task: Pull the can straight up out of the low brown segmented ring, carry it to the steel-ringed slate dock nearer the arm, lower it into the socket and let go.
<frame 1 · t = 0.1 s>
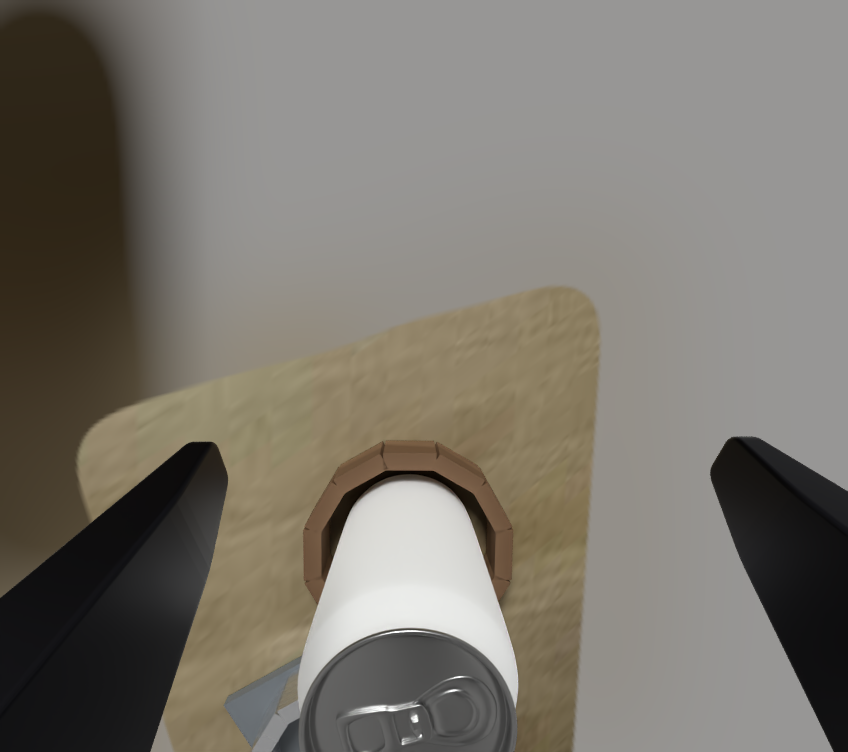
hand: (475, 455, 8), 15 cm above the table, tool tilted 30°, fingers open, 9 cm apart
can: (408, 531, 24), resting in brown segmented ring
brown segmented ring: (408, 532, 24), on the table
dock: (359, 726, 25), on the table
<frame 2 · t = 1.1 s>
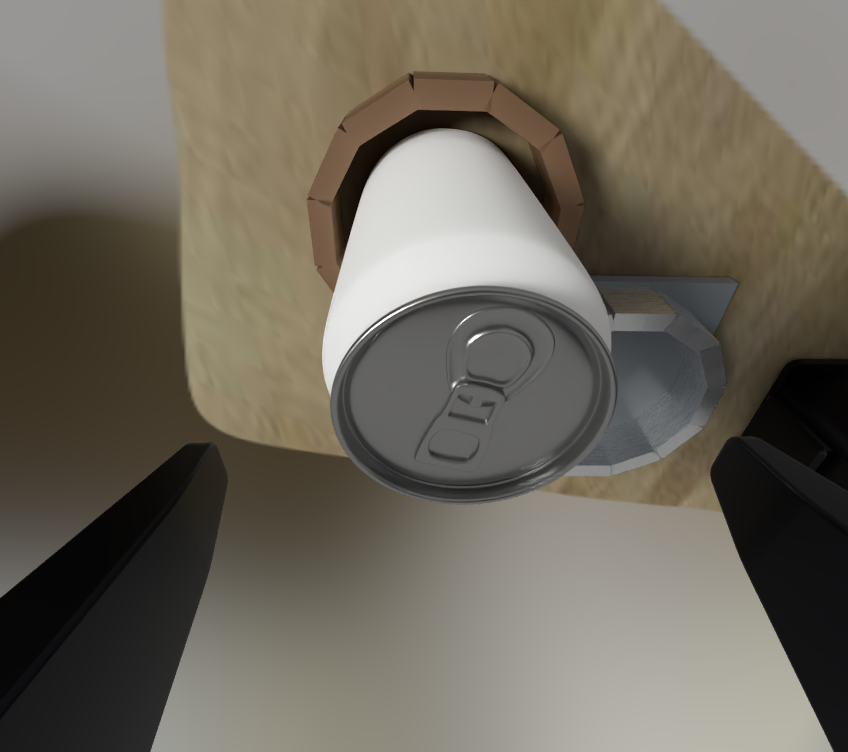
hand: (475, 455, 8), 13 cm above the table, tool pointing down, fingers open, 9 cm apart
can: (441, 212, 19), resting in brown segmented ring
brown segmented ring: (441, 214, 19), on the table
dock: (591, 367, 23), on the table
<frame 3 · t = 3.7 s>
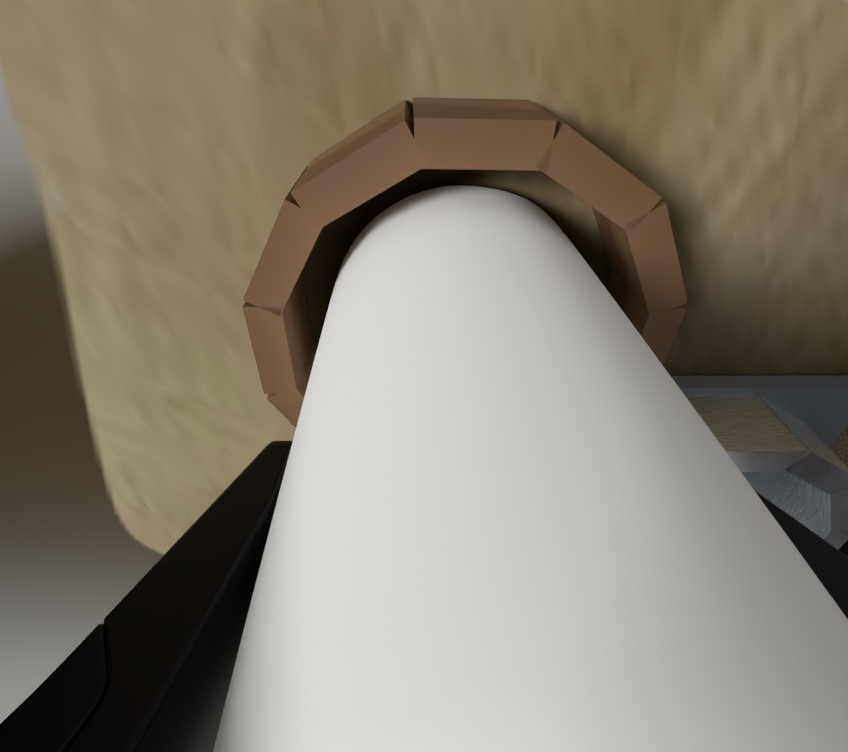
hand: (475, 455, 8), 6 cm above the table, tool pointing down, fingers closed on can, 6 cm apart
can: (455, 299, 13), resting in brown segmented ring, touching gripper
brown segmented ring: (455, 302, 13), on the table
dock: (655, 480, 17), on the table
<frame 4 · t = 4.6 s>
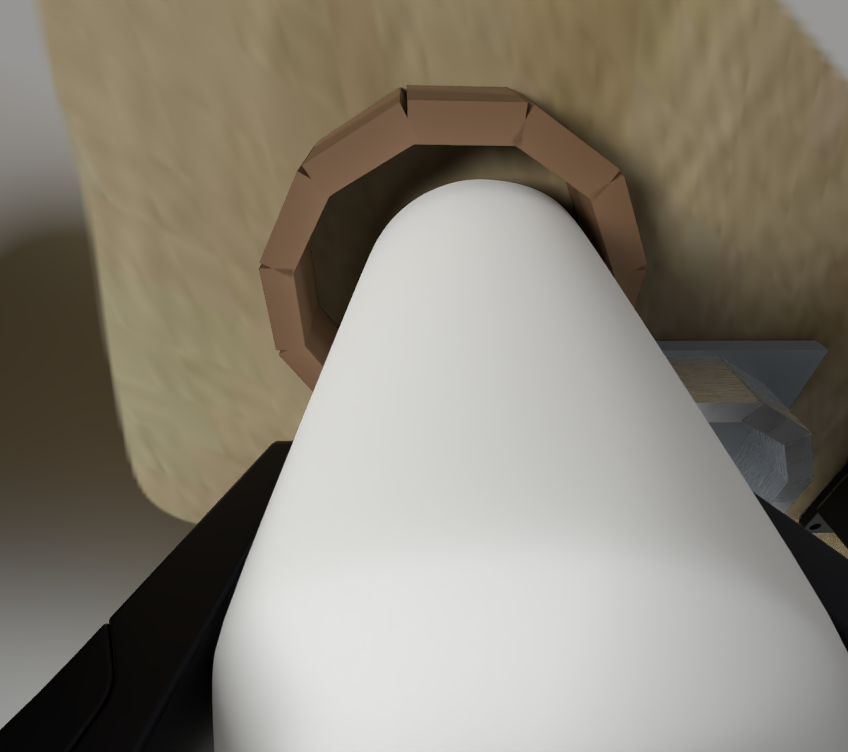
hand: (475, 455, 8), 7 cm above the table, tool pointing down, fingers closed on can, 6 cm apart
can: (476, 288, 14), point 1 cm above the table, touching gripper
brown segmented ring: (446, 271, 14), on the table
dock: (632, 442, 19), on the table
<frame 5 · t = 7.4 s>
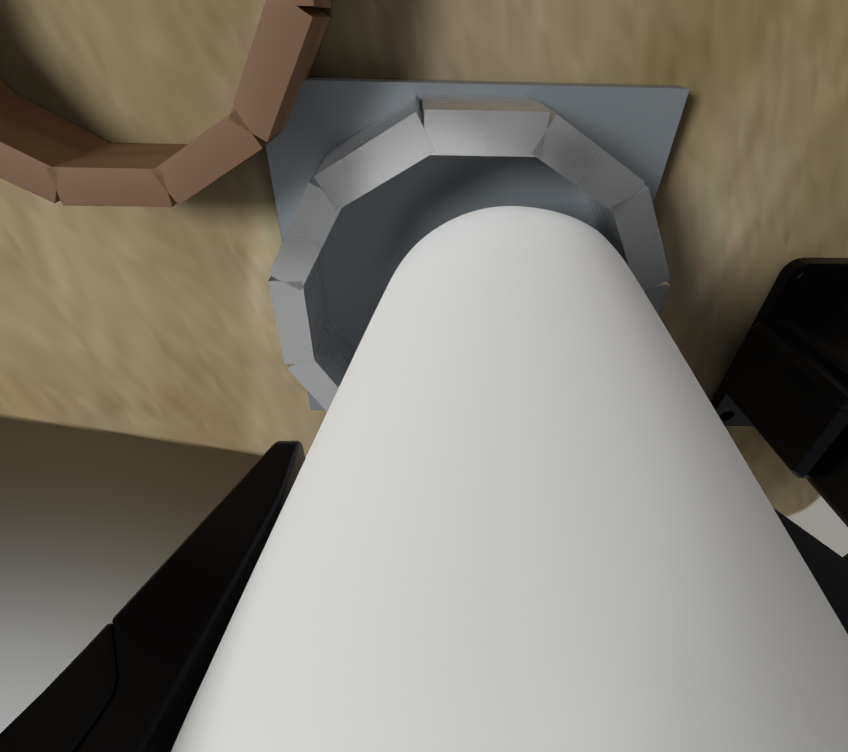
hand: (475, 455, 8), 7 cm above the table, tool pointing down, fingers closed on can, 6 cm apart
can: (505, 321, 12), point 2 cm above the table, touching dock, gripper
dock: (458, 274, 14), on the table
when the fingers open (7 cm above the table, at t = 8.2 s): can stays where it is, resting on dock.
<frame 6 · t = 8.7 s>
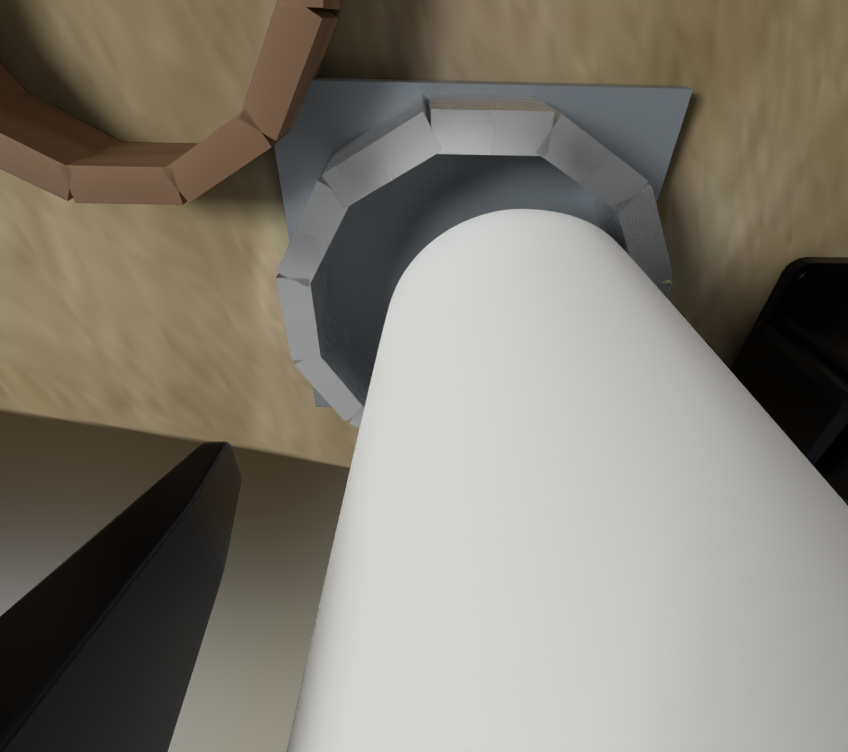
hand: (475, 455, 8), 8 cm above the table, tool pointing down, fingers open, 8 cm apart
can: (509, 324, 12), point 3 cm above the table, touching dock, gripper
dock: (463, 272, 14), on the table
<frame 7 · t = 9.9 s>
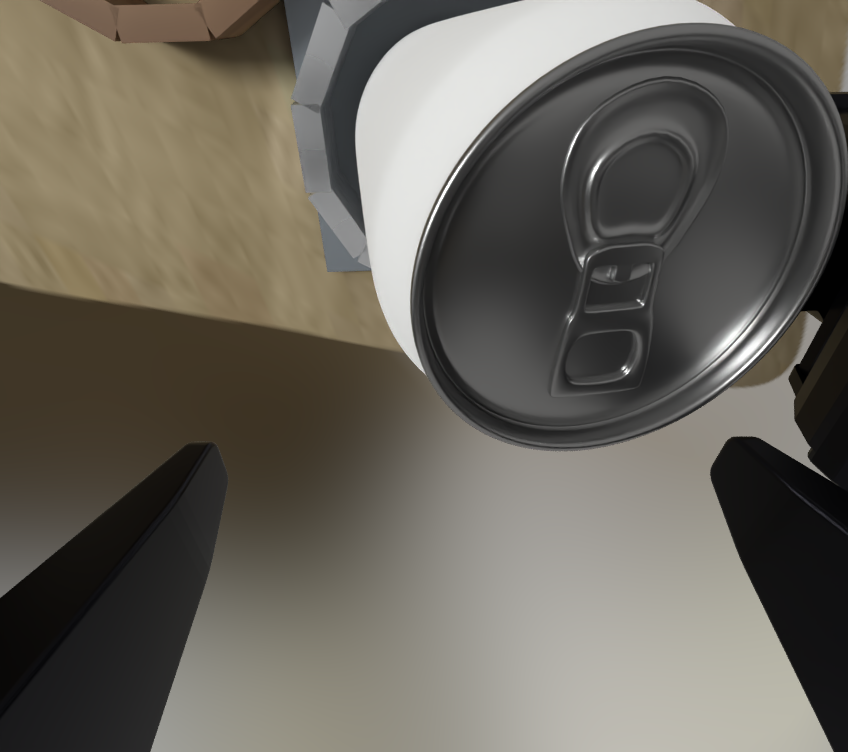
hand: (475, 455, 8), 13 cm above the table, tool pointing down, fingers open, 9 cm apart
can: (450, 138, 16), point 1 cm above the table, touching dock
dock: (451, 127, 16), on the table
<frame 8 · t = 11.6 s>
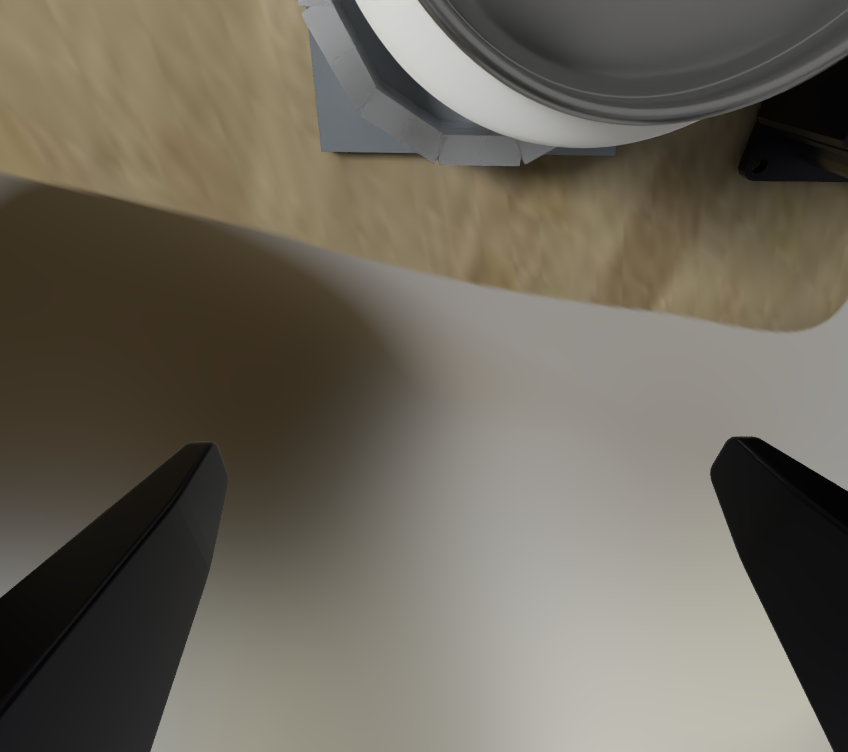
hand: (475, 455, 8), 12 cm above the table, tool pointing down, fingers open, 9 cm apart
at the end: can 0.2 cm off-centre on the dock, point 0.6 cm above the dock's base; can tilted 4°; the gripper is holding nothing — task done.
